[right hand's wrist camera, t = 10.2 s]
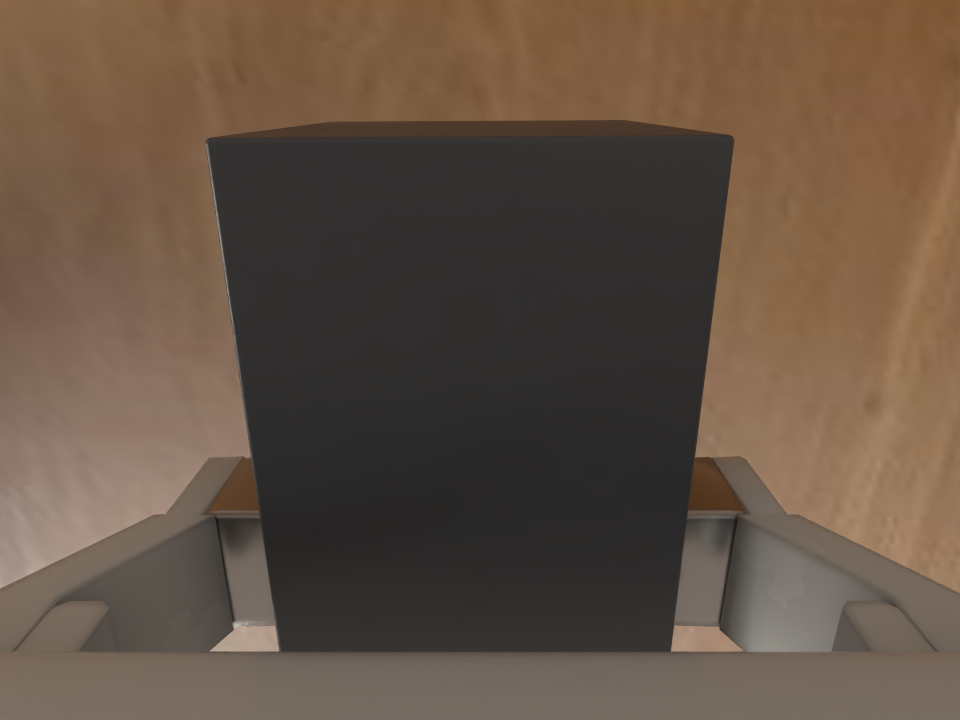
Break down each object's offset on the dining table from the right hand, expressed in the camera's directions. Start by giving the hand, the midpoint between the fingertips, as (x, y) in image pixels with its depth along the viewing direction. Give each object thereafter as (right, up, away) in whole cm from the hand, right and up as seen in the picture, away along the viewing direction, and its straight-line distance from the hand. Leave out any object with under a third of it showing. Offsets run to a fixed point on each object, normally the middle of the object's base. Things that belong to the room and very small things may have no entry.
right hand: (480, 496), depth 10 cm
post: (0, -19, +10) cm, 21 cm away
